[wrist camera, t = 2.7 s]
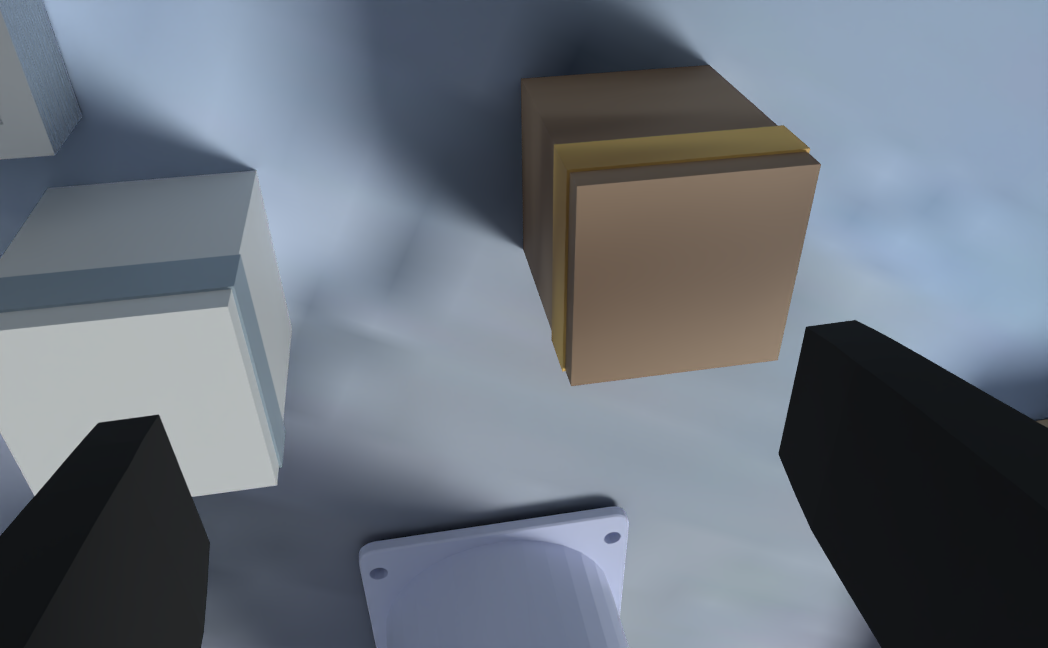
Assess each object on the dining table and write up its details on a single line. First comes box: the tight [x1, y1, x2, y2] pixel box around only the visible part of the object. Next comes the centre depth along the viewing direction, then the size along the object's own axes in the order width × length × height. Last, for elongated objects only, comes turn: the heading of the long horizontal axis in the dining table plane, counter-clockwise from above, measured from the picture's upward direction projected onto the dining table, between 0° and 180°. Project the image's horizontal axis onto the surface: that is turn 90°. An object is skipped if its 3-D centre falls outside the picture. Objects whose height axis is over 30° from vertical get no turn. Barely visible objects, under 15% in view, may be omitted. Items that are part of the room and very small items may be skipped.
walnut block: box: [521, 65, 821, 386], centre depth 16 cm, size 4×4×5 cm
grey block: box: [0, 170, 292, 497], centre depth 15 cm, size 4×4×5 cm
